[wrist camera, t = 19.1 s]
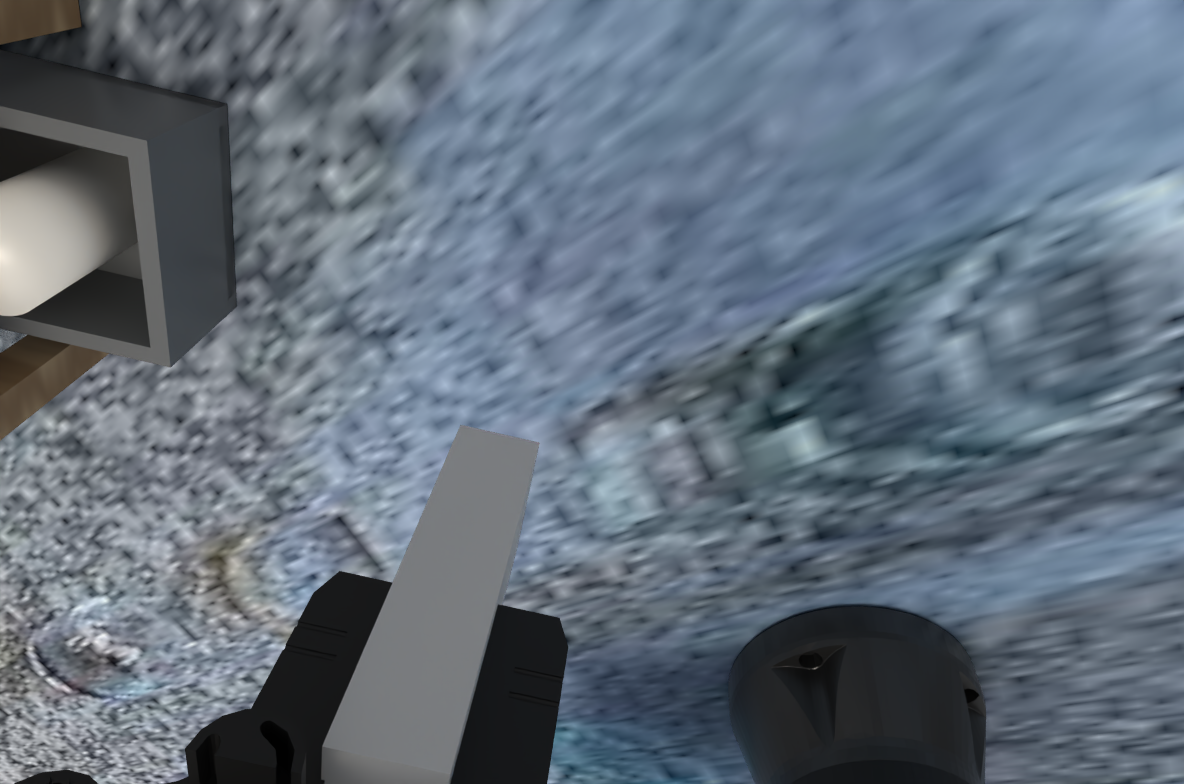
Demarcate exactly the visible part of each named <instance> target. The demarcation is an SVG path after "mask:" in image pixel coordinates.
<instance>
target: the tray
mask: <svg viewBox="0 0 1184 784" xmlns="http://www.w3.org/2000/svg"><path fill="white" fill-rule="evenodd" d="M236 307H237V306H236V284H235V263H234V242H233V220H232V199H231V178H230V156H229V135H228V114H227V104H225V103H221V102H216V101H212V100H208V99H204V98H200V97H195V96H191V95H187V94H183V93H179V92H175V91H170V90H166V89H162V88H158V87H154V86H150V85H145V84H141V83H137V82H133V81H129V80H125V79H120V78H116V77H112V76H108V75H104V74H100V73H95V72H91V71H87V70H83V69H79V68H74V67H70V66H66V65H62V64H58V63H54V62H49V61H45V60H41V59H37V58H33V57H29V56H24V55H20V54H16V53H12V52H8V51H4V50H0V328H1V329H5V330H9V331H14V332H18V333H22V334H27V335H31V336H35V337H40V338H44V339H49V340H53V341H57V342H62V343H66V344H70V345H75V346H79V347H84V348H88V349H92V350H97V351H101V352H105V353H110V354H114V355H118V356H123V357H127V358H132V359H136V360H140V361H145V362H149V363H153V364H158V365H162V366H167V367H172V366H173V365H174V364H175V363H176V362H177V361H178V360H179V359H180V358H181V357H182V356H184V355H185V354H186V353H187V352H188V351H189V350H190V349H191V348H192V347H193V346H194V345H195V344H197V343H198V342H199V341H200V340H201V339H202V338H203V337H204V336H205V335H206V334H207V333H208V332H210V331H211V330H212V329H213V328H214V327H215V326H216V325H217V324H218V323H219V322H220V321H221V320H223V319H224V318H225V317H226V316H227V315H228V314H229V313H230V312H231V311H232V310H233V309H234V308H236Z"/></svg>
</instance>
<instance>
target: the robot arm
mask: <svg viewBox="0 0 1184 784" xmlns="http://www.w3.org/2000/svg"><path fill="white" fill-rule="evenodd" d="M538 448H539V443H538V442H534V441H529V440H525V439H521V438H516V437H512V436H507V435H503V434H499V433H494V432H490V431H485V430H481V429H477V428H472V427H468V426H463V425H460V427H459V430H458V432H457V434H456V437H455V439H454V441H453V444H452V446H451V448H450V451H449V453H448V455H447V458H446V460H445V462H444V465H443V467H442V469H441V472H440V474H439V476H438V479H437V481H436V483H435V486H434V488H433V490H432V492H431V495H430V497H429V499H428V502H427V504H426V506H425V509H424V511H423V513H422V516H421V518H420V520H419V523H418V525H417V527H416V530H415V532H414V534H413V537H412V539H411V541H410V544H409V546H408V548H407V551H406V553H405V555H404V558H403V560H402V562H401V564H400V567H399V569H398V571H397V574H396V576H395V578H394V581H393V583H391V582H387V581H382V580H378V579H373V578H369V577H364V576H360V575H355V574H351V573H346V572H342V571H339V572H338V573H337V574H336V575H335V576H333V577H332V578H331V579H330V580H329V581H327V582H326V583H325V584H324V585H323V586H321V587H320V588H319V589H318V590H316V591H315V592H314V593H313V595H312V597H311V599H310V601H309V602H308V604H307V606H306V608H305V610H304V612H303V614H302V615H301V617H300V619H299V621H298V625H297V627H295V628H294V630H293V632H292V634H291V636H290V638H289V640H288V641H287V643H286V647H285V649H284V650H283V651H282V652H281V654H280V656H279V658H278V660H277V662H276V664H275V665H274V667H273V669H272V671H271V673H270V675H269V677H268V678H267V680H266V682H265V684H264V686H263V688H262V690H261V691H260V693H259V695H258V697H257V699H256V701H255V703H254V704H253V706H252V708H251V709H245V710H242V711H238V712H235V713H231V714H228V715H224V716H222V717H220V718H219V719H217V720H215V721H214V722H212V723H211V724H209V725H208V726H206V727H204V728H203V729H201V730H200V732H199V733H198V734H197V735H196V736H195V738H194V739H193V740H192V741H191V742H190V743H189V745H188V746H187V747H186V748H185V752H186V760H187V768H188V775H189V777H187V778H184V779H182V780H179V781H176V782H171V783H167V784H547V780H548V773H549V767H550V761H551V754H552V748H553V741H554V735H555V729H556V722H557V716H558V709H559V708H558V707H559V703H560V696H561V690H562V684H563V683H562V682H563V677H564V671H565V664H566V658H567V652H568V645H567V641H566V638H565V635H564V631H563V628H562V625H561V621H560V618H557V617H553V616H548V615H544V614H539V613H535V612H530V611H526V610H521V609H517V608H512V607H508V606H503V601H504V597H505V593H506V590H507V586H508V582H509V578H510V574H511V570H512V566H513V563H514V559H515V555H516V551H517V547H518V542H519V537H520V533H521V528H522V523H523V519H524V514H525V509H526V504H527V500H528V495H529V490H530V485H531V481H532V476H533V471H534V466H535V462H536V457H537V452H538ZM728 693H729V710H730V720H731V725H732V729H733V732H734V735H735V737H736V739H737V742H738V744H739V746H740V749H741V751H742V754H743V756H744V759H745V761H746V763H747V766H748V768H749V770H750V773H751V775H752V777H753V780H754V782H755V784H985V744H986V705H985V699H984V694H983V691H982V688H981V685H980V682H979V680H978V677H977V674H976V672H975V669H974V666H973V664H972V661H971V659H970V657H969V655H968V653H967V652H966V651H965V649H964V648H963V647H962V645H961V644H960V643H959V642H958V641H957V640H956V639H955V638H954V637H953V636H951V635H950V634H949V633H948V632H946V631H945V630H943V629H942V628H940V627H938V626H936V625H935V624H933V623H931V622H929V621H927V620H924V619H922V618H919V617H917V616H914V615H911V614H907V613H903V612H900V611H895V610H890V609H883V608H874V607H840V608H830V609H824V610H819V611H814V612H810V613H806V614H802V615H799V616H796V617H793V618H791V619H788V620H786V621H783V622H781V623H779V624H777V625H775V626H773V627H771V628H769V629H768V630H766V631H765V632H763V633H762V634H760V635H759V636H758V637H756V638H755V639H754V640H753V641H751V642H750V643H749V644H748V645H747V646H746V647H745V648H744V650H743V651H742V652H741V653H740V655H739V656H738V657H737V659H736V661H735V663H734V665H733V667H732V669H731V672H730V676H729V682H728ZM14 784H98V783H97V782H96V781H95V780H93V779H92V778H91V777H90V776H89V775H86V774H82V773H78V772H74V771H70V770H61V771H52V772H42V773H39V774H37V775H34V776H32V777H29V778H27V779H24V780H22V781H19V782H17V783H14Z"/></svg>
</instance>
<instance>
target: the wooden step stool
mask: <svg viewBox="0 0 1184 784" xmlns="http://www.w3.org/2000/svg"><path fill="white" fill-rule="evenodd" d="M78 27H81V19H80V11H79V3H78V0H0V45H1V44H6V43H10V42H15V41H19V40H24V39H28V38H33V37H37V36H42V35H47V34H51V33H56V32H60V31H65V30H69V29H74V28H78ZM108 354H109V353H105V352H101V351H97V350H92V349H88V348H84V347H79V346H75V345H70V344H66V343H62V342H57V341H53V340H49V339H44V338H40V337H35V336H31V335H27V336H25V337H24V338H22V339H21V340H19V341H18V342H17V343H15V344H14V345H12V346H11V347H9V348H8V349H6V350H5V351H3V352H2V353H0V440H1V439H3V438H4V437H5V436H6V435H8V434H9V433H10V432H11V431H13V430H14V429H15V428H16V427H18V426H19V425H20V424H21V423H23V422H24V421H25V420H26V419H28V418H29V417H30V416H31V415H33V414H34V413H35V412H36V411H38V410H39V409H40V408H41V407H43V406H44V405H45V404H46V403H48V402H49V401H50V400H51V399H53V398H54V397H55V396H56V395H58V394H59V393H60V392H61V391H63V390H64V389H65V388H66V387H68V386H69V385H70V384H71V383H73V382H74V381H75V380H76V379H78V378H79V377H80V376H81V375H83V374H84V373H85V372H86V371H88V370H89V369H90V368H91V367H93V366H94V365H95V364H96V363H98V362H99V361H100V360H101V359H103V358H104V357H105V356H106V355H108Z"/></svg>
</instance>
